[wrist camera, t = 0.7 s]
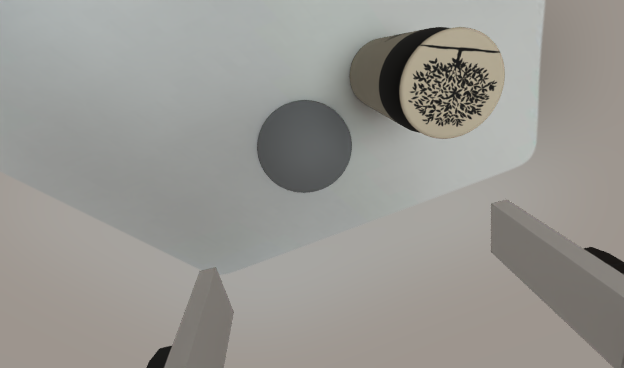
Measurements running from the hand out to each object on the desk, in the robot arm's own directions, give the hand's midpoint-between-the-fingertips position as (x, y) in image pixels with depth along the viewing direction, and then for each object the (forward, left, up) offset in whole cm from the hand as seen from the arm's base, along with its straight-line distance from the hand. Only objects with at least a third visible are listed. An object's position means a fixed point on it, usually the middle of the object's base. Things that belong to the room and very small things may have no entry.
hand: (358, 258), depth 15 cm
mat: (0, -2, -28) cm, 28 cm away
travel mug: (+5, +10, -28) cm, 30 cm away
